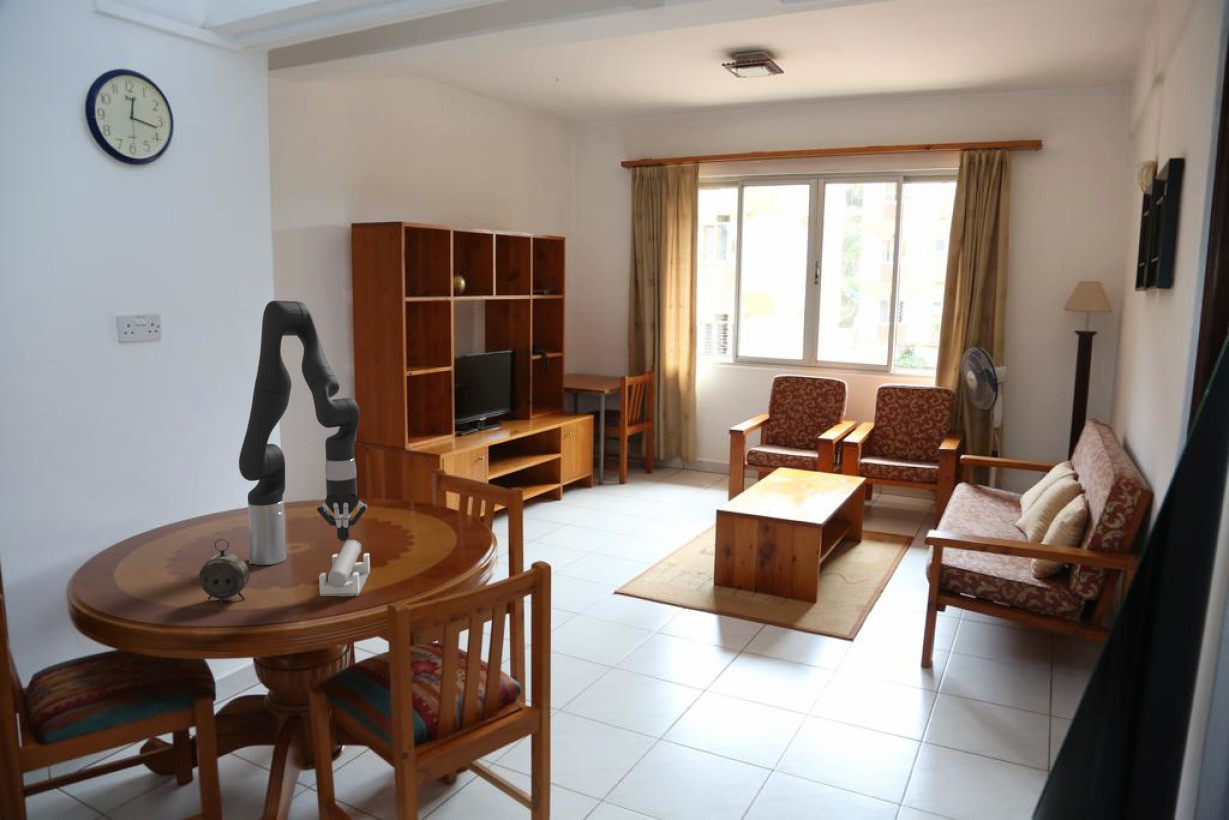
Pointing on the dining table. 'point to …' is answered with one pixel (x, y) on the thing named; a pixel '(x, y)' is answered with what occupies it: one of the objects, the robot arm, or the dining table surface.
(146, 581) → the dining table surface
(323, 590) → the cradle
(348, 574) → the tube
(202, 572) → the alarm clock
